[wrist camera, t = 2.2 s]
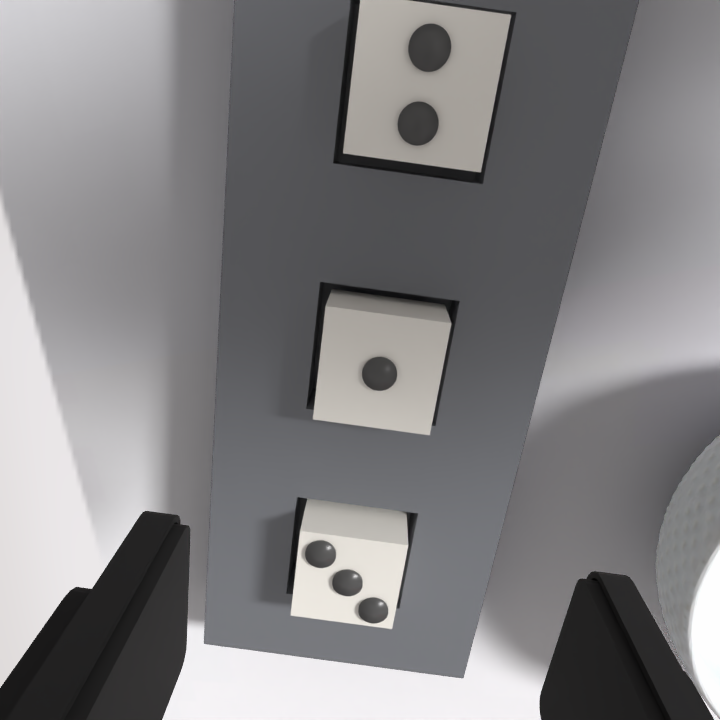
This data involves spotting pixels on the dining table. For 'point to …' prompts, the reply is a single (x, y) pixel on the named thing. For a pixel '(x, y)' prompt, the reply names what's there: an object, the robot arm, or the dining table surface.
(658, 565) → the cereal bowl
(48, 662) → the robot arm
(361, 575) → the button three dots
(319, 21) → the button panel
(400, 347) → the button one dot
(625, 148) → the dining table surface
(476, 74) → the button two dots
